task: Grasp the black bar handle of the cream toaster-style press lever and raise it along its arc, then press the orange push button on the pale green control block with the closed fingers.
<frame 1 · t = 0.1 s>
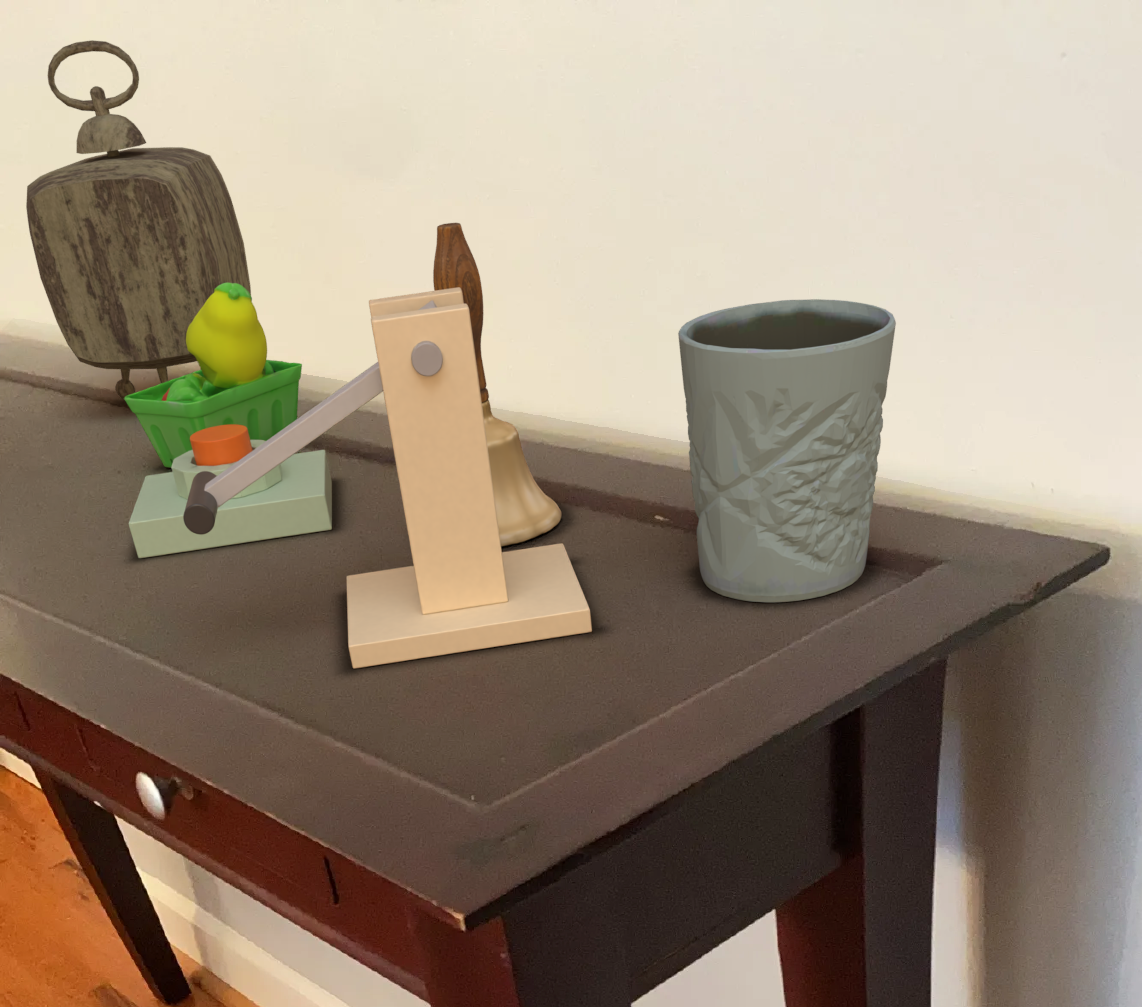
drinking glass: (787, 574, 73), on the table
press lever: (316, 421, 66), point 10 cm above the table, hinge at -25.0°
lever bracket: (465, 613, 73), on the table
tabletop clock: (178, 407, 116), on the table
orange push button: (222, 447, 87), point 4 cm above the table, slide at 0.1 cm
fruit basket: (238, 456, 102), on the table
hand bell: (493, 529, 83), on the table
button block: (239, 519, 89), on the table
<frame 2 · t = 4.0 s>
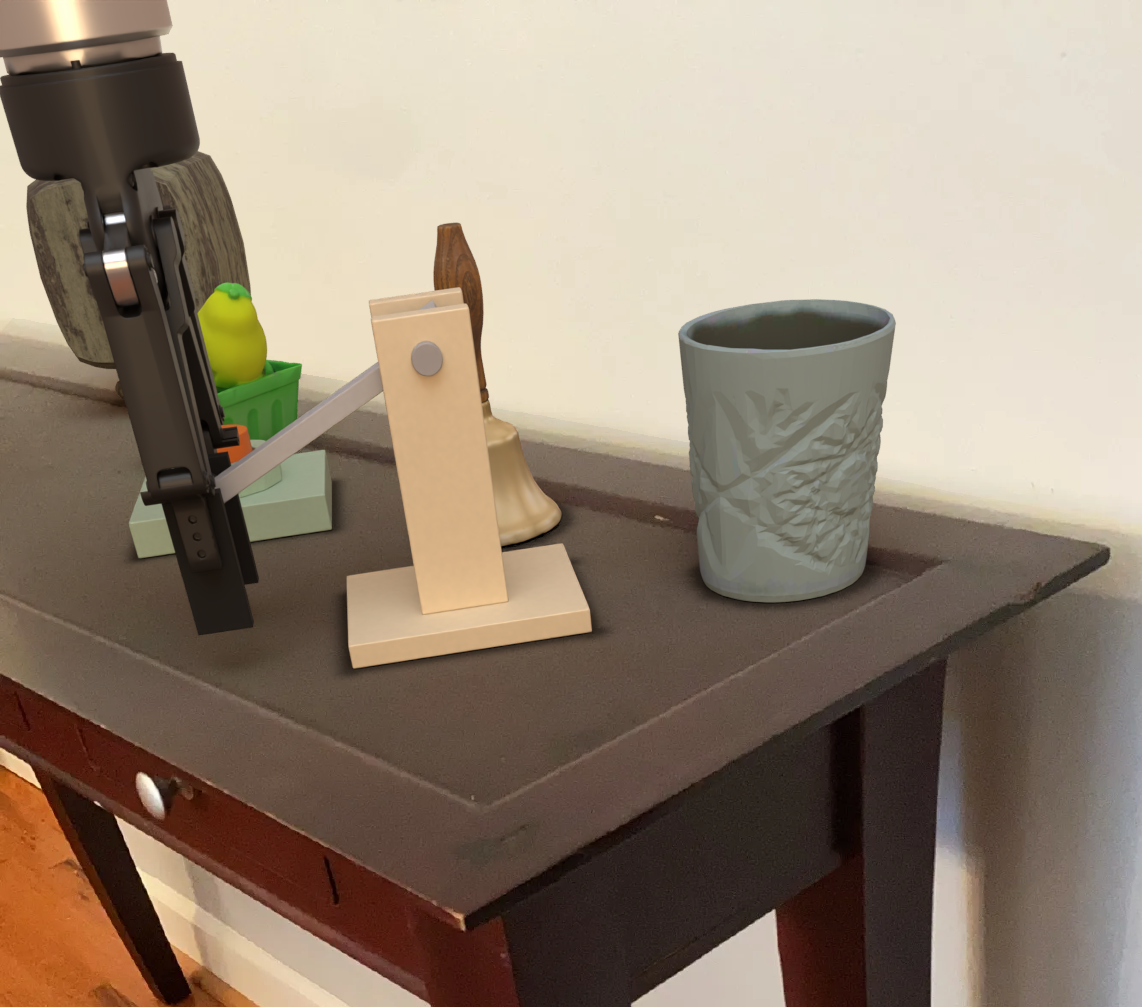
hand: (229, 604, 71), 2 cm above the table, tool pointing down, fingers closed on press lever, 5 cm apart
press lever: (316, 421, 66), point 10 cm above the table, hinge at -25.0°, touching gripper
everything else where it was.
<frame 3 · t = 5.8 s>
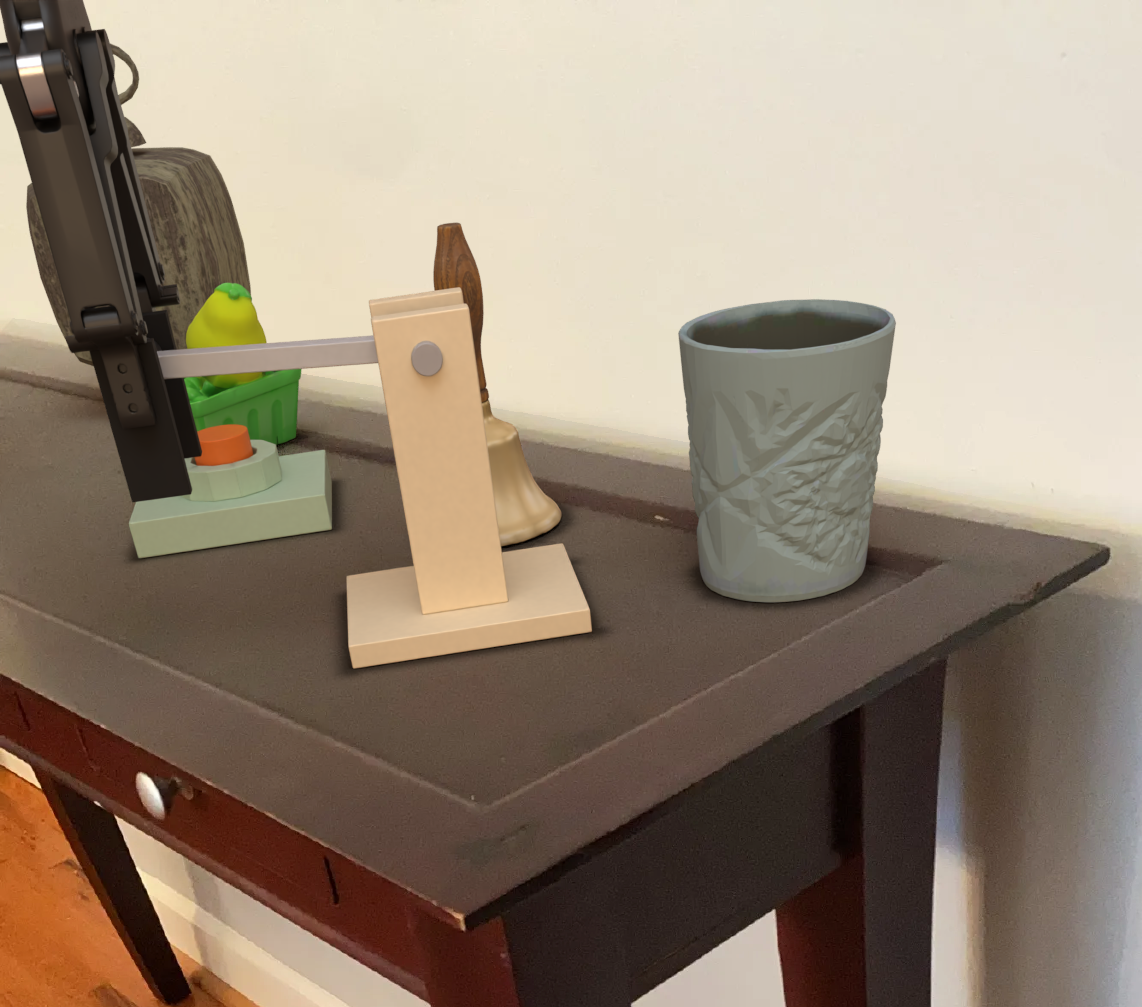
hand: (168, 475, 67), 9 cm above the table, tool pointing down, fingers closed on press lever, 5 cm apart
press lever: (290, 355, 64), point 13 cm above the table, hinge at 3.7°, touching gripper
everything else where it was.
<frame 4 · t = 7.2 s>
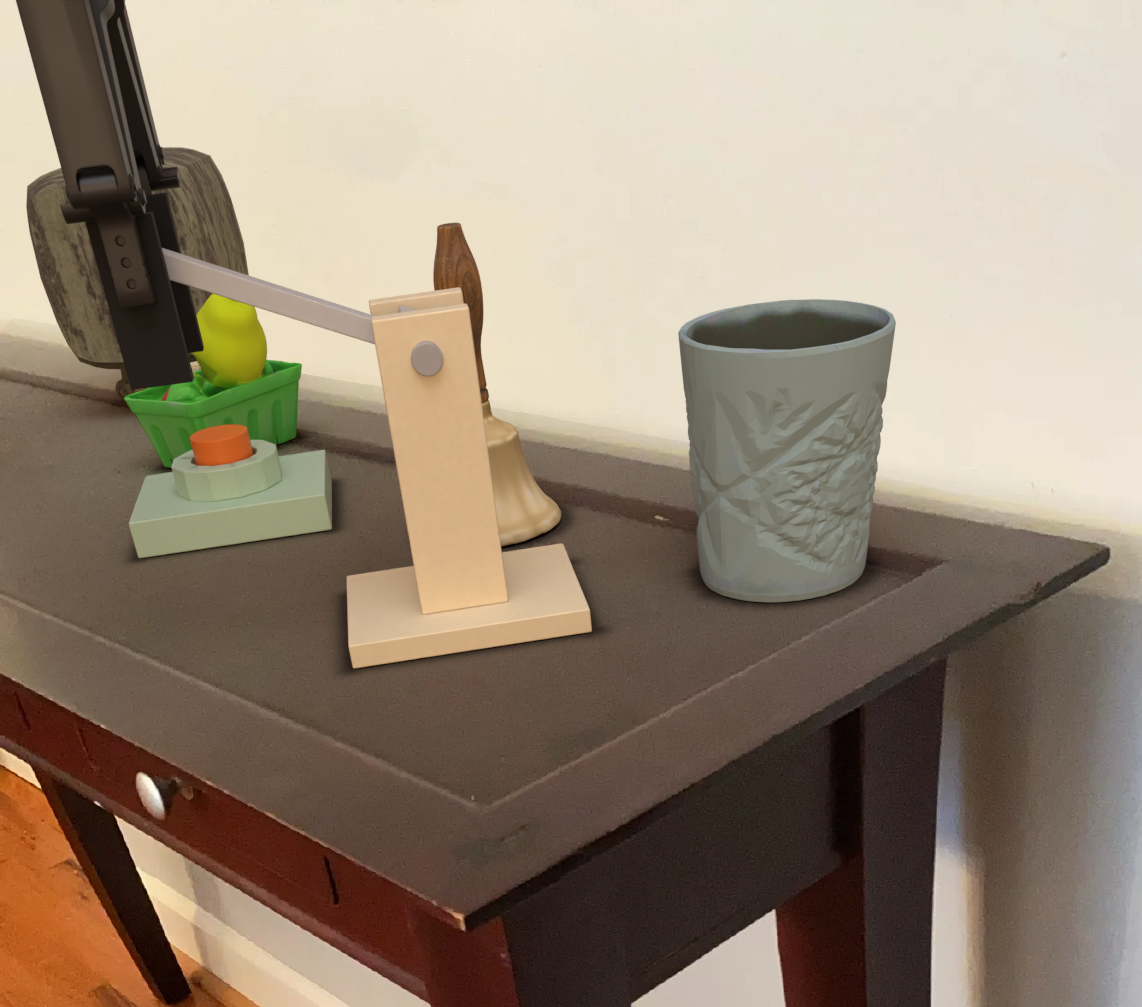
hand: (169, 367, 64), 14 cm above the table, tool pointing down, fingers closed on press lever, 5 cm apart
press lever: (291, 303, 63), point 16 cm above the table, hinge at 24.0°, touching gripper
everything else where it was.
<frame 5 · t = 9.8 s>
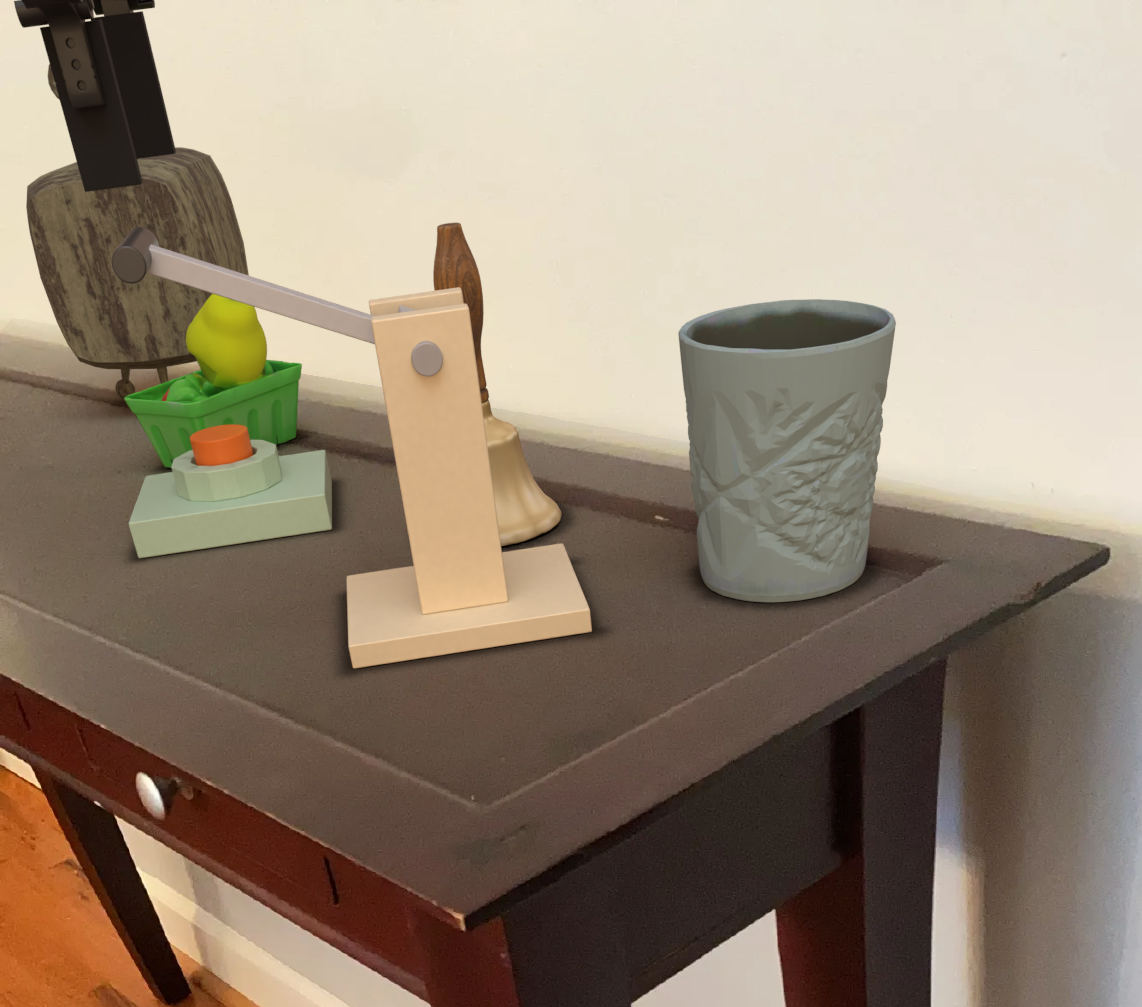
hand: (134, 171, 73), 20 cm above the table, tool pointing down, fingers open, 13 cm apart
press lever: (291, 303, 63), point 15 cm above the table, hinge at 23.9°
everything else where it was.
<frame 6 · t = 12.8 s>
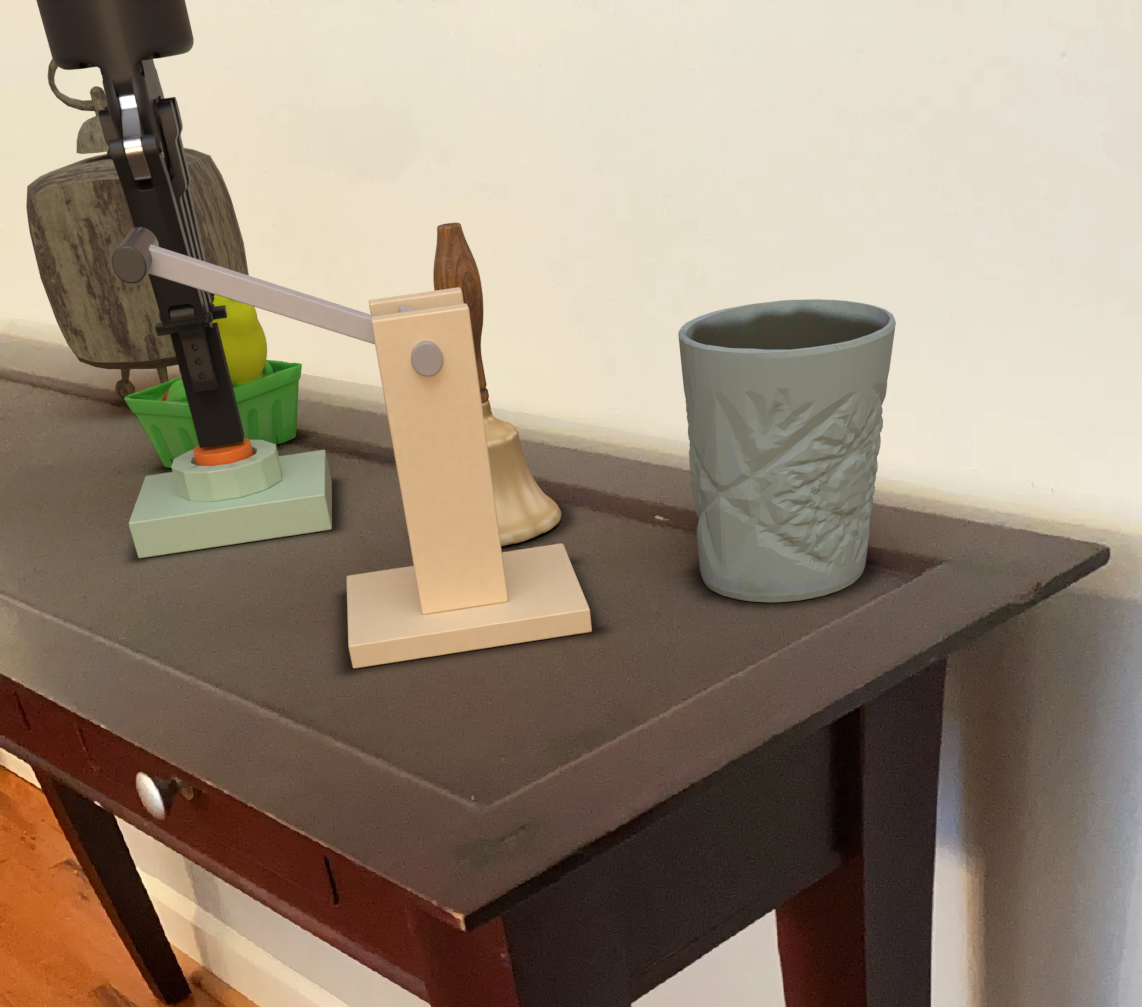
hand: (222, 441, 86), 5 cm above the table, tool pointing down, fingers closed
orange push button: (225, 460, 87), point 4 cm above the table, slide at -0.7 cm, touching gripper
everything else where it was.
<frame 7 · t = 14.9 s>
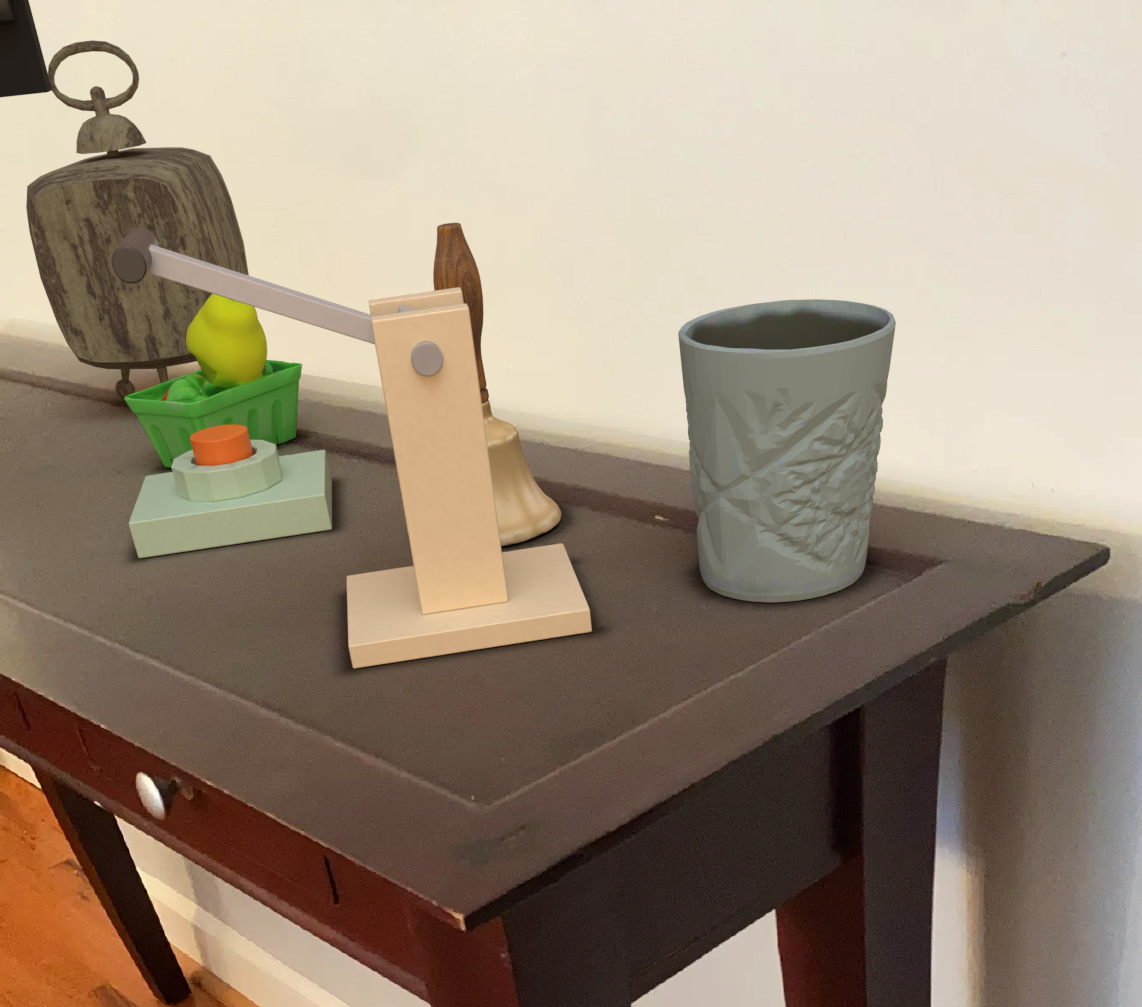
hand: (25, 93, 78), 24 cm above the table, tool pointing down, fingers closed
orange push button: (222, 447, 87), point 4 cm above the table, slide at 0.1 cm
everything else where it was.
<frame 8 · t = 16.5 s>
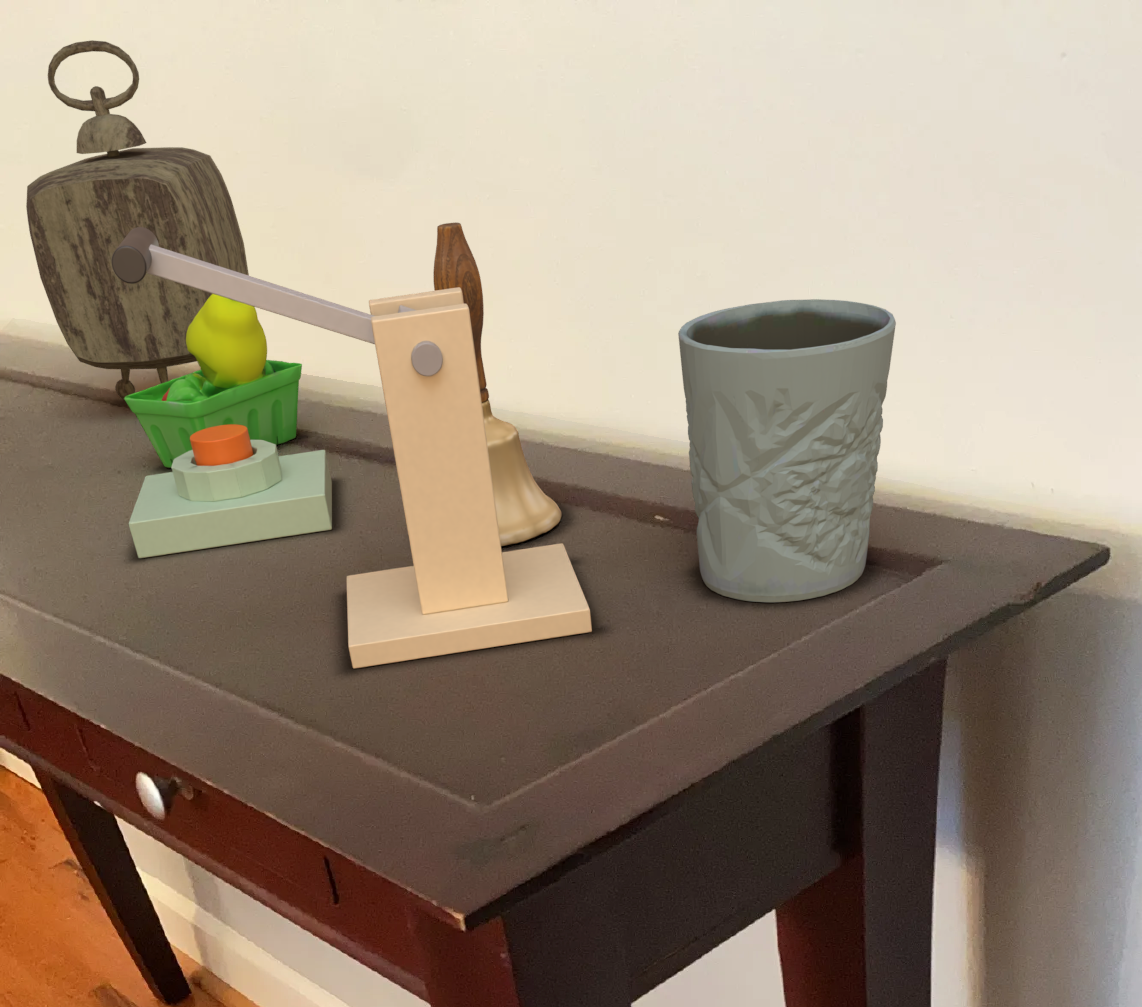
nothing on the table moved.
at the end: press lever at +24° (first picture: -25°); orange push button pushed in 1.0 cm at the most during the clip, back to where it started at the end; orange push button slide at 0.1 cm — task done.
